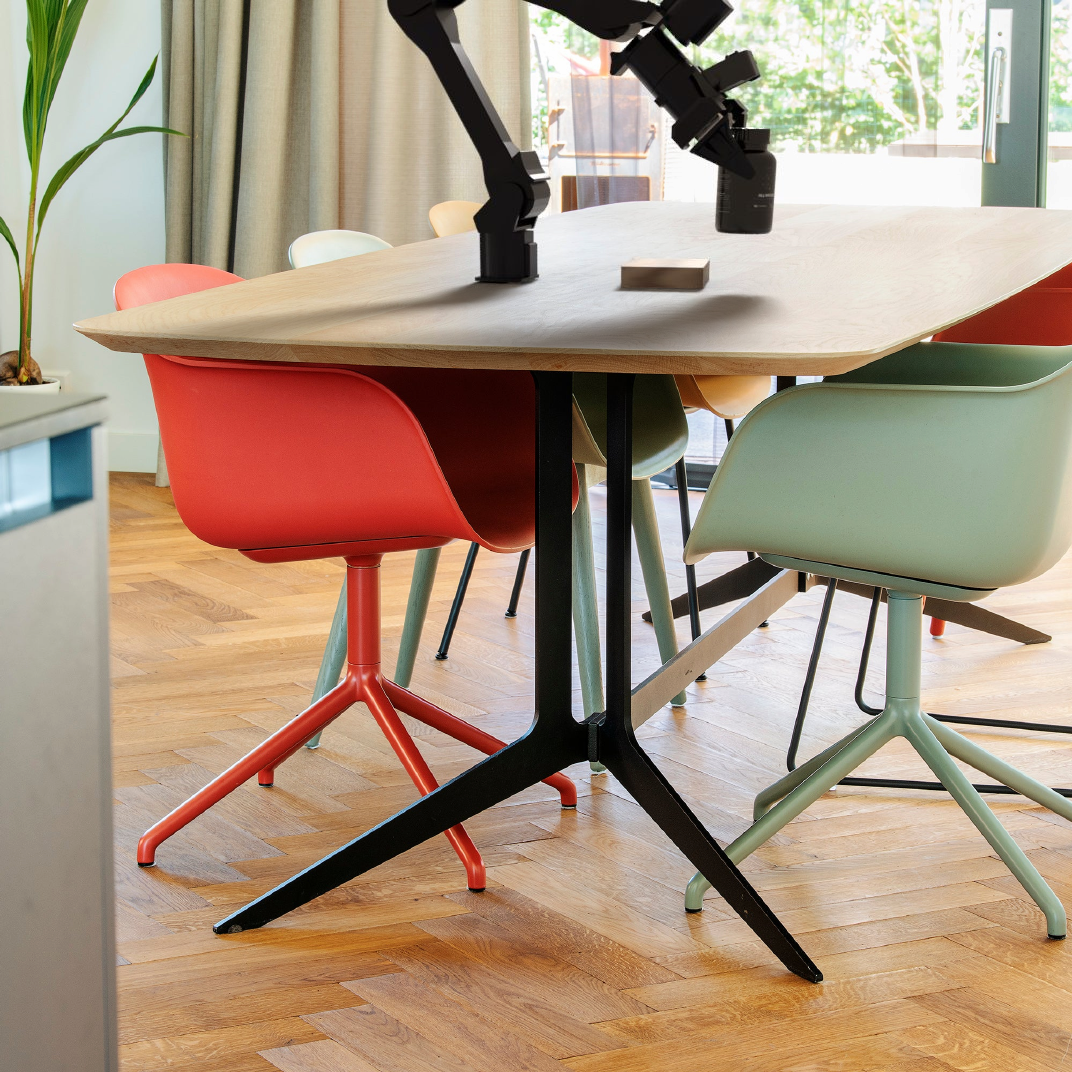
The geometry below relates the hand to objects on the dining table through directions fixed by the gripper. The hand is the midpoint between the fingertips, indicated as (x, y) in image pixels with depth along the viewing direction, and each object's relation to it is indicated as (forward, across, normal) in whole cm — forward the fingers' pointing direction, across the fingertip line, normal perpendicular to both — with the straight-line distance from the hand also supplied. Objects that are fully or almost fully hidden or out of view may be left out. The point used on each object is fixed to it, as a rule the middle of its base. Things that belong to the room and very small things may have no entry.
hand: (758, 176), depth 153 cm
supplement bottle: (+4, 0, +6) cm, 7 cm away
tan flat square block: (+2, +3, +17) cm, 18 cm away
